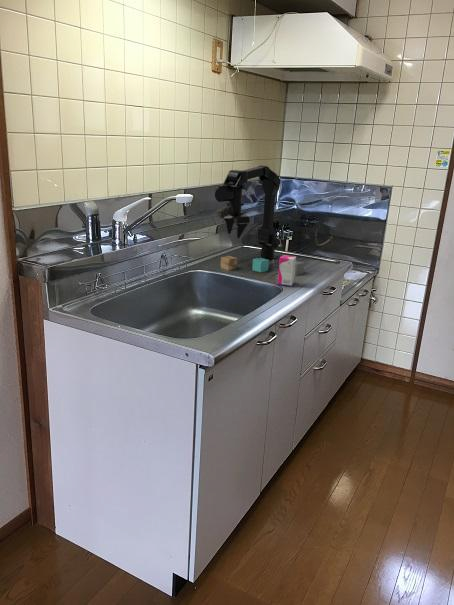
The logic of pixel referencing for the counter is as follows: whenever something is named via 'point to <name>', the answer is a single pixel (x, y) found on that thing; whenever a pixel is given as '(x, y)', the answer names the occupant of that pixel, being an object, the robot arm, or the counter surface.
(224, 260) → the walnut cube
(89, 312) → the counter surface
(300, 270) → the charcoal cube
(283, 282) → the supplement box
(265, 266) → the teal cube
